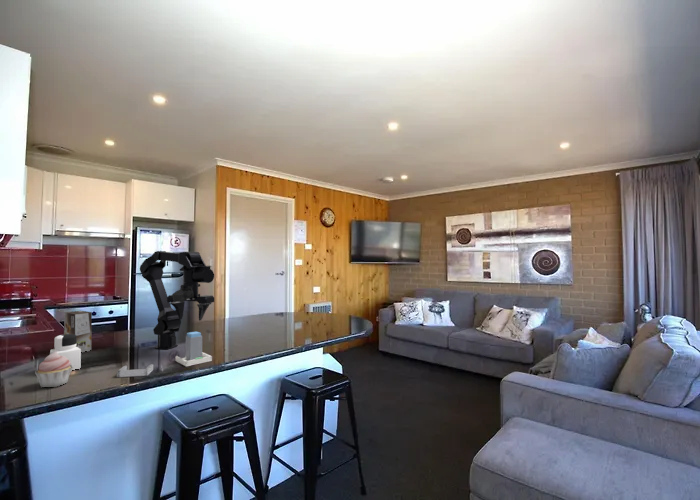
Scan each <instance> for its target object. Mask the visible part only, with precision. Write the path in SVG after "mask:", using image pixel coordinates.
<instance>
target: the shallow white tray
mask: <svg viewBox="0 0 700 500" xmlns="http://www.w3.org/2000/svg"><path fill="white" fill-rule="evenodd" d="M153 371H154V363H151V364H149V365H148V366H147V367H146V368H140V369H139V368H138V369H137V368H136V369H128V365H123V366H122V367H121V368H119V369H118V370H117V371H116V378H129V377H132V378H133V377H147V376H149V375H150V374H151V373H152V372H153Z"/></svg>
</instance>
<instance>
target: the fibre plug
mask: <svg viewBox="0 0 700 500" xmlns="http://www.w3.org/2000/svg"><path fill="white" fill-rule="evenodd" d="M184 348H185V352H184V354H185V356H184V358H185V360H187V361H189V360H194V359H195V358H199V357H202V352H203V335H202V333H201V332H199V331H190V332H187V333H186V335H185V347H184Z"/></svg>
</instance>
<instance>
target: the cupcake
mask: <svg viewBox="0 0 700 500" xmlns="http://www.w3.org/2000/svg"><path fill="white" fill-rule="evenodd" d="M70 364H71V362H70V361H69V360H68V359H67V358H66V357H65V356H59V354H58V353H57V352H54V353H52V354H50V353H49V355H47V356H46V357H45V358H44V359H43V361H41V362H40V363H39V365H38V370H34V373H35V375H36V377H37V380H38V382H39V383H38V384H39V385H40V388H42V387H54V388H57V387H56V386H58V387H61V386H60V385H62V386H64V385H66V384H67V383H68V381H69V378H70V374H71V373H72V372H73V371H72V369H73V367H72V366H73V365H70ZM65 383H66V384H65ZM63 384H64V385H63Z"/></svg>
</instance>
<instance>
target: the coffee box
mask: <svg viewBox="0 0 700 500" xmlns="http://www.w3.org/2000/svg"><path fill="white" fill-rule="evenodd" d="M92 313H93V312H92V311H86V310H73V311H67V312H64V314H63V316H64V317H63V321H64V323H63V324H64V325H63V326H64V328H63V335H64V334H74V335H76V336H77V345H76V347H78V348H80V349H81V352H82V353H86V352H85V351H87V352H91V351H92V328H93V327H92V324H93V323H92V319H93V318H92V317H93V316H92V315H93V314H92ZM90 350H91V351H90Z"/></svg>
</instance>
